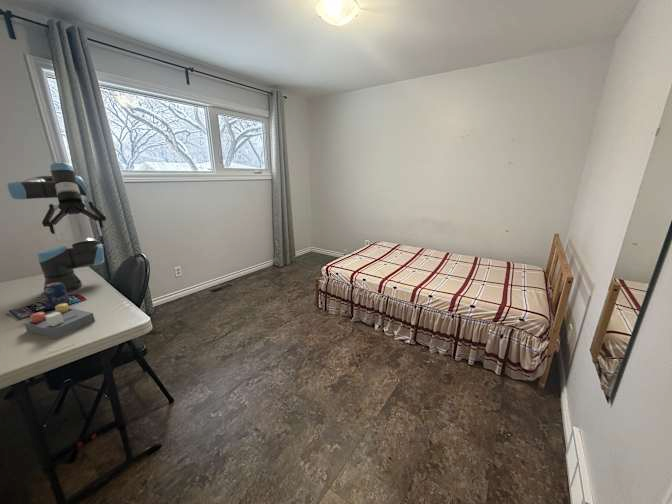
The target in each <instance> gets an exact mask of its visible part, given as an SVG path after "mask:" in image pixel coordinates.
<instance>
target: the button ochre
mask: <svg viewBox="0 0 672 504" xmlns="http://www.w3.org/2000/svg"><path fill="white" fill-rule="evenodd" d="M69 308H70V307H69V305H68V303H63V304H59V305H56V306H55V309H54V310H55V311H56V312H59V313H65V312H68V311H69V310H70V309H69Z"/></svg>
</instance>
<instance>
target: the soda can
mask: <svg viewBox="0 0 672 504" xmlns="http://www.w3.org/2000/svg"><path fill="white" fill-rule="evenodd" d="M43 291H45V292H44V294H45V296H46V299H47V302H48V305H49V308H51V309H52V310H56V309H55V306H56V305H59V304H63V303H68V306H69V305H70V303H71V300H70V297H69V294H68V292H67V291H66V288H65V285H64V284H63V283H62V282H53V283H49V284H46V285H45V288H44V287H43Z"/></svg>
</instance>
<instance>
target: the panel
mask: <svg viewBox="0 0 672 504" xmlns="http://www.w3.org/2000/svg"><path fill="white" fill-rule="evenodd" d="M69 309H70V310H69V311H68V312H65V313H62V316H63V319H64V322H63V323H60V324H58V325H55V326H50V325H48V323H47V321H46V320H45V321H42V322H39V323H32V320H31V319H30V320H28V321H25V322H23V324H24V327H25V330H26V332H28V333H32V334H35V335H39V336H42V337H46V338H49V339H52V340H56V339H58V338H61V337H63V336H65V335H68V334H70V333H73V332H74V331H77V330H79V329H82V328H84V327H85V326H87V325H89V324H93V323H95V321H96V319H95V316H94V313H93V312H90V311H85V310H81V309H77V308H72V307H69ZM55 312H56V310H53V311H51V312H49V313H45V316H47V315H49V314H52V313H55Z"/></svg>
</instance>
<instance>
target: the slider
mask: <svg viewBox="0 0 672 504" xmlns="http://www.w3.org/2000/svg"><path fill="white" fill-rule="evenodd" d="M45 318H46V321H47V323H48V325H50V326H55V325H58V324H60V323H63V322H64V319H63V316H62V313H59V312H55V313H52V314H49V315H47V316H45Z"/></svg>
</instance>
